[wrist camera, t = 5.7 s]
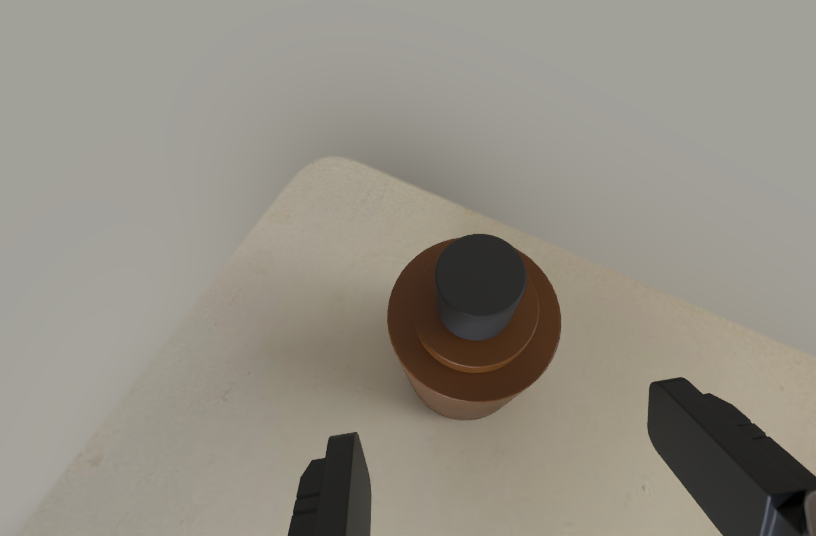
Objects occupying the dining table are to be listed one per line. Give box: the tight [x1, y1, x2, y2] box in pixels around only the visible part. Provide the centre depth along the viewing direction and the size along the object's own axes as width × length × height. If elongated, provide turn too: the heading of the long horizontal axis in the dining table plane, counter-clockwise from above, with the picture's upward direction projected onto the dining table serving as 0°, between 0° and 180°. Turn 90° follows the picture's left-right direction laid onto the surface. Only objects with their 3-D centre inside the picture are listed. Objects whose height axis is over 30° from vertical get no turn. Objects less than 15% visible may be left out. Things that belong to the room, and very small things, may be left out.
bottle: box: [387, 234, 561, 420], centre depth 17 cm, size 6×6×12 cm
